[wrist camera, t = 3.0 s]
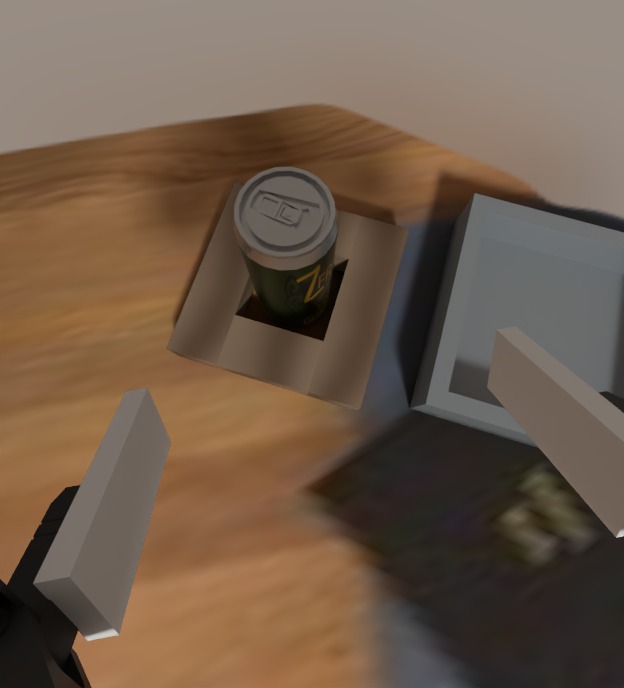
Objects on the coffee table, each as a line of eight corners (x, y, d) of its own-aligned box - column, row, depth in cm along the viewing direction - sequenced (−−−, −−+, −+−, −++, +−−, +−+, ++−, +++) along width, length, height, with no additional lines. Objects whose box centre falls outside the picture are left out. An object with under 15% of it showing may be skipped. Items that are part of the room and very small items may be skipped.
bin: (409, 408, 28) (425, 404, 24) (454, 223, 32) (474, 193, 28) (628, 475, 27) (682, 482, 23) (648, 275, 30) (697, 252, 27)
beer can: (248, 314, 29) (209, 235, 18) (277, 257, 31) (258, 147, 19) (311, 342, 29) (313, 278, 17) (338, 282, 30) (357, 185, 19)
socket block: (178, 355, 29) (166, 348, 26) (240, 200, 32) (234, 181, 29) (356, 410, 28) (360, 408, 25) (401, 245, 31) (409, 229, 29)
